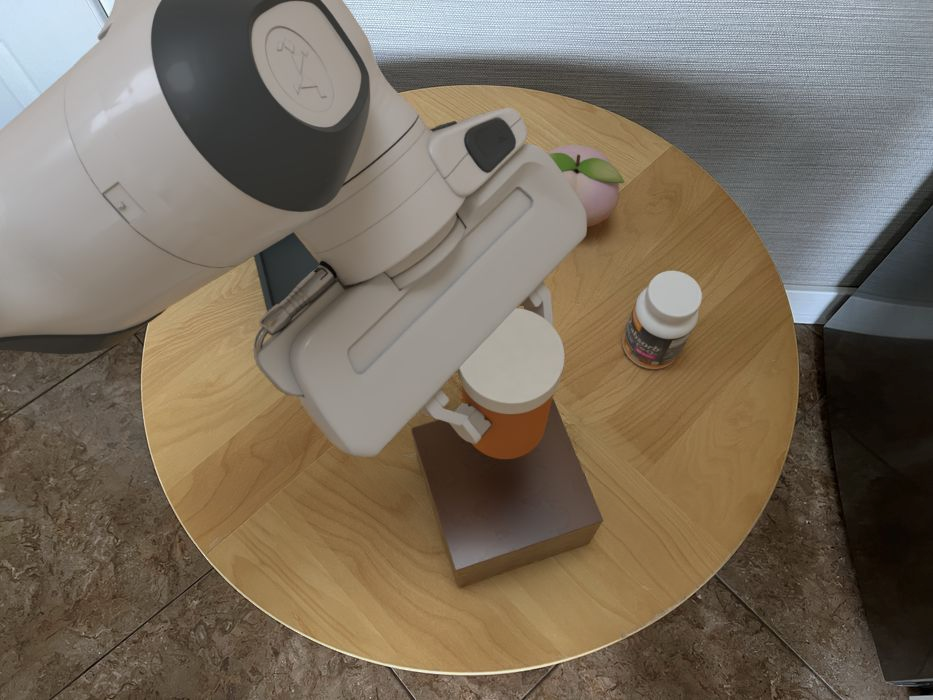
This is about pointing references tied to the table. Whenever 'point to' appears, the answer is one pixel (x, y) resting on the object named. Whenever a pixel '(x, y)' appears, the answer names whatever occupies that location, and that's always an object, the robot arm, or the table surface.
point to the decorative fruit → (590, 179)
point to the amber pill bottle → (514, 383)
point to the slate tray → (283, 268)
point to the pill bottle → (662, 320)
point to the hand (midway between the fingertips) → (515, 392)
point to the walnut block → (505, 500)
